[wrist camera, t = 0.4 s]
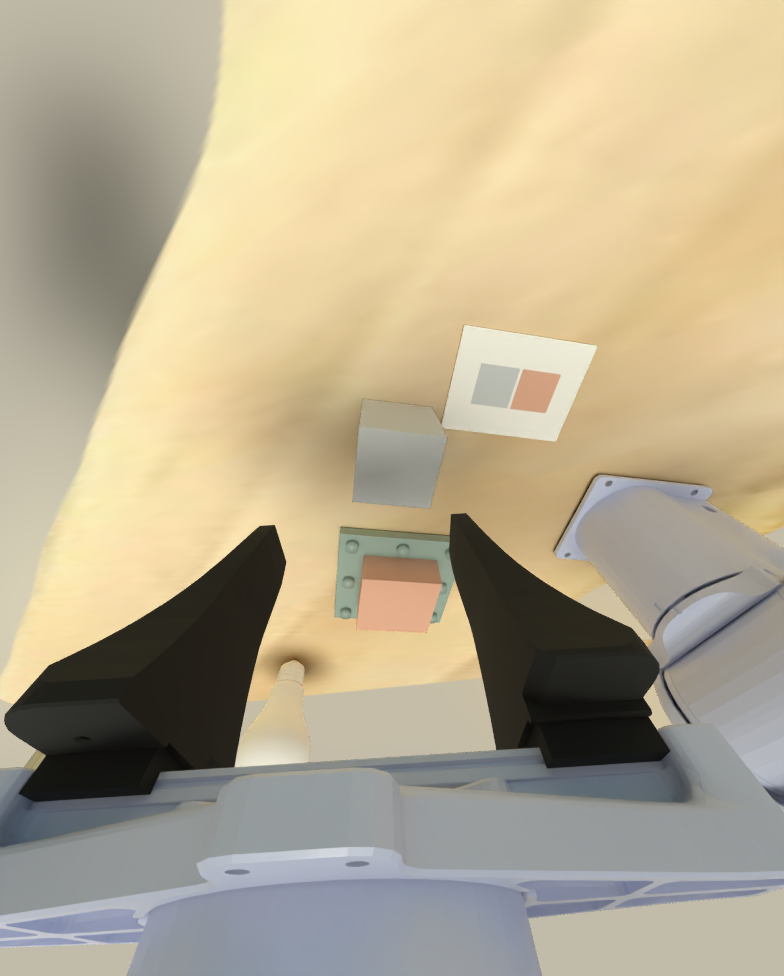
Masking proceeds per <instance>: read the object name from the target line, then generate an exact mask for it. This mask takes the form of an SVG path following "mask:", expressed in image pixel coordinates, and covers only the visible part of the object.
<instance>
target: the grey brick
mask: <svg viewBox="0 0 784 976" xmlns="http://www.w3.org/2000/svg"><path fill="white" fill-rule="evenodd" d="M446 441H447V435H446V433H445V431H444V429H443V427H442V425H441V423H440V421H439V420H438V418H437V416H436V414H435V412H434V410H433V408H432V407H426V406H418V405H410V404H402V403H394V402H386V401H378V400H371V399H363V401H362V409H361V416H360V423H359V433H358V444H357V456H356V467H355V478H354V490H353V501H352V502H359V503H370V504H381V505H392V506H404V507H415V508H426V509H430V506H431V502H432V498H433V494H434V490H435V486H436V482H437V477H438V473H439V469H440V465H441V461H442V457H443V453H444V449H445V445H446Z"/></svg>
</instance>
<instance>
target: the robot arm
mask: <svg viewBox="0 0 784 976" xmlns="http://www.w3.org/2000/svg"><path fill="white" fill-rule="evenodd" d="M607 481H609V482H608V483H606V482H607ZM605 483H606V484H605ZM712 493H713V490H712V488H710V487H708V486H703V485H693V484H684V483H675V482H666V481H657V480H648V479H639V478H629V477H620V476H611V475H598V476H597V477H595V478H594V480H593V481H592V483H591V485H590V487H589V489H588V491H587V492H586V494H585V496H584V498H583V500H582V502H581V503H580V505H579V507H578V509H577V511H576V513H575V514H574V516H573V518H572V520H571V522H570V524H569V526H568V527H567V529H566V531H565V533H564V535H563V537H562V538H561V540H560V542H559V544H558V546H557V548H556V549H555V551H554V554H555V556H556V557H557V558H561V559H574V560H587V561H590V563H591V564H592V565H593V566H594V568H595V569H596V570H597V571H598V572H599V574H600V575H601V576H602V577H603V579H604V580H605V581H606V582H607V584H608V585H609V586H610V587H611V588H612V590H613V591H614V592H615V593H616V595H617V596H618V597H619V598H620V600H621V601H622V602H623V603H624V604H625V605H626V607H627V608H628V610H629V611H630V612H631V613H632V614H633V616H634V617H635V618H636V619H637V621H638V622H639V623H640V624H641V625H642V627H643V628H644V629H645V631H646V632H647V633H648V634H649V635H650V637H651V638H652V639H653V642H652V643H651V644H650V645H649V646H648V647H647V646H646V645H645V643H644V642H643V641H642V640H641V638H640V637H638V635H637V634H636V633H635V631H634V630H633V629H632V628H630V627H628V626H626V625H624V624H622V623H619V622H617V621H615V620H613V619H611V618H609V617H606V616H604V615H602V614H599V613H598V612H596V611H593V610H592V609H590V608H588V607H586V606H584V605H582V604H580V603H578V602H577V601H575V600H573V599H571V598H569V597H568V596H566V595H564V594H562V593H561V592H559V591H558V590H556V589H554V588H553V587H551V586H550V585H548V584H546V583H545V582H543V581H542V580H540V579H539V578H537V577H536V576H535V575H533V574H532V573H530V572H529V571H528V570H526V569H525V568H524V567H522V566H521V565H520V564H518V563H517V562H516V561H515V560H513V559H512V558H511V557H510V556H509V555H508V554H506V553H505V552H504V551H503V550H502V549H501V548H500V547H499V546H498V545H497V544H496V543H495V542H494V541H492V540H491V539H490V538H489V537H488V536H487V535H486V534H485V533H484V532H483V531H482V529H481V528H480V527H479V526H478V525H477V524H476V523H475V522H474V521H473V520H472V519H471V518H470V517H469V516H468V515H467V514H466V513H464V514H451V525H450V541H449V555H450V561H451V566H452V570H453V575H454V578H455V581H456V584H457V587H458V590H459V593H460V596H461V599H462V602H463V605H464V608H465V611H466V614H467V617H468V620H469V623H470V626H471V630H472V633H473V637H474V642H475V646H476V651H477V655H478V659H479V664H480V669H481V673H482V678H483V683H484V687H485V692H486V697H487V703H488V707H489V713H490V717H491V723H492V728H493V733H494V739H495V744H496V750H492V751H478V752H462V753H447V754H431V755H416V756H400V757H385V758H370V759H354V760H339V761H325V762H308V763H293V764H277V765H262V766H247V767H235V761H236V755H237V750H238V744H239V738H240V732H241V727H242V722H243V717H244V712H245V707H246V702H247V697H248V693H249V689H250V684H251V680H252V675H253V671H254V667H255V663H256V659H257V655H258V651H259V647H260V644H261V641H262V638H263V635H264V632H265V629H266V627H267V624H268V621H269V618H270V616H271V613H272V610H273V607H274V605H275V602H276V599H277V596H278V593H279V590H280V588H281V585H282V580H283V576H284V571H285V566H286V559H285V556H284V553H283V550H282V547H281V543H280V540H279V537H278V534H277V530H276V527H275V525H268V526H259V527H258V528H257V529H256V530H255V531H253V532H252V533H251V534H250V535H249V536H248V537H247V538H246V539H245V540H243V541H242V542H241V543H240V544H239V545H238V546H237V547H236V548H235V549H234V550H232V551H231V552H230V553H229V554H228V555H227V556H226V557H225V558H223V559H222V560H221V561H220V562H219V563H218V564H216V565H215V566H214V567H213V568H211V569H210V570H209V571H208V572H207V573H205V574H204V575H203V576H202V577H201V578H199V579H198V580H197V581H195V582H194V583H193V584H191V585H190V586H189V587H187V588H186V589H185V590H183V591H182V592H180V593H179V594H178V595H176V596H175V597H173V598H172V599H170V600H169V601H167V602H166V603H164V604H163V605H161V606H159V607H158V608H156V609H155V610H153V611H151V612H150V613H148V614H147V615H145V616H143V617H142V618H140V619H139V620H137V621H135V622H133V623H132V624H130V625H128V626H126V627H125V628H123V629H121V630H119V631H117V632H116V633H114V634H112V635H110V636H108V637H106V638H104V639H103V640H101V641H99V642H97V643H95V644H93V645H91V646H89V647H87V648H85V649H82V650H80V651H78V652H76V653H74V654H72V655H70V656H68V657H66V658H64V659H62V660H60V661H58V662H55V663H53V664H51V665H49V666H48V667H47V668H46V669H45V670H44V672H43V673H42V674H41V675H40V676H39V677H38V678H37V679H36V680H35V682H34V683H33V684H32V685H31V686H30V687H29V688H28V689H27V690H26V692H25V693H24V694H23V695H22V696H21V697H20V698H19V699H18V700H17V702H16V703H15V704H14V705H13V706H12V707H11V708H10V709H9V711H8V712H7V713H6V714H5V719H4V722H5V725H6V727H7V729H8V730H9V731H10V732H11V733H12V734H14V735H15V736H16V737H18V738H19V739H21V740H23V741H24V742H26V743H27V744H29V745H30V746H32V747H34V748H35V749H37V750H38V751H40V752H41V753H43V754H44V755H46V756H45V758H44V759H43V760H42V762H41V763H40V765H39V766H38V767H37V769H36V770H35V769H31V768H24V767H23V768H22V767H16V768H0V948H9V947H30V946H32V947H34V946H59V945H61V946H62V945H95V944H128V943H139V944H138V946H137V949H136V952H135V955H134V958H133V960H132V963H131V965H130V968H129V970H128V973H127V976H542V974H541V970H540V966H539V962H538V957H537V954H536V949H535V945H534V941H533V937H532V932H531V928H530V924H529V920H528V918H538V917H547V916H556V915H565V914H574V913H582V912H593V911H602V910H611V909H620V908H629V907H639V906H648V905H658V904H667V903H677V902H688V901H700V900H711V899H724V898H736V897H750V896H758V895H762V894H765V893H768V892H772V891H775V890H778V889H782V888H784V548H782V547H780V546H779V545H777V544H776V543H774V542H772V541H771V540H769V539H768V538H766V537H764V536H763V535H761V534H759V533H758V532H756V531H755V530H753V529H751V528H750V527H748V526H746V525H745V524H743V523H742V522H740V521H738V520H737V519H735V518H733V517H732V516H730V515H728V514H727V513H725V512H724V511H722V510H720V509H719V508H717V507H715V506H714V505H712V504H711V503H709V502H707V499H708V498H709V497H710V496H711V494H712ZM652 684H654V687H655V690H656V693H657V696H658V698H659V700H660V703H661V706H662V708H663V710H664V711H665V713H666V715H667V717H668V718H669V720H670V721H671V723H672V724H673V725H669V726H664V727H662V728H659V729H658V730H657V729H656V728H655V726H654V725H653V723H652V722H651V720H650V718H649V717H648V716H651V715H652V711H651V709H650V707H649V706H648V704H647V703H646V701H645V700H644V698H643V697H644V695H645V694H646V693H647V691H648V690H649V688H650V687H651V686H652Z"/></svg>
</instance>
